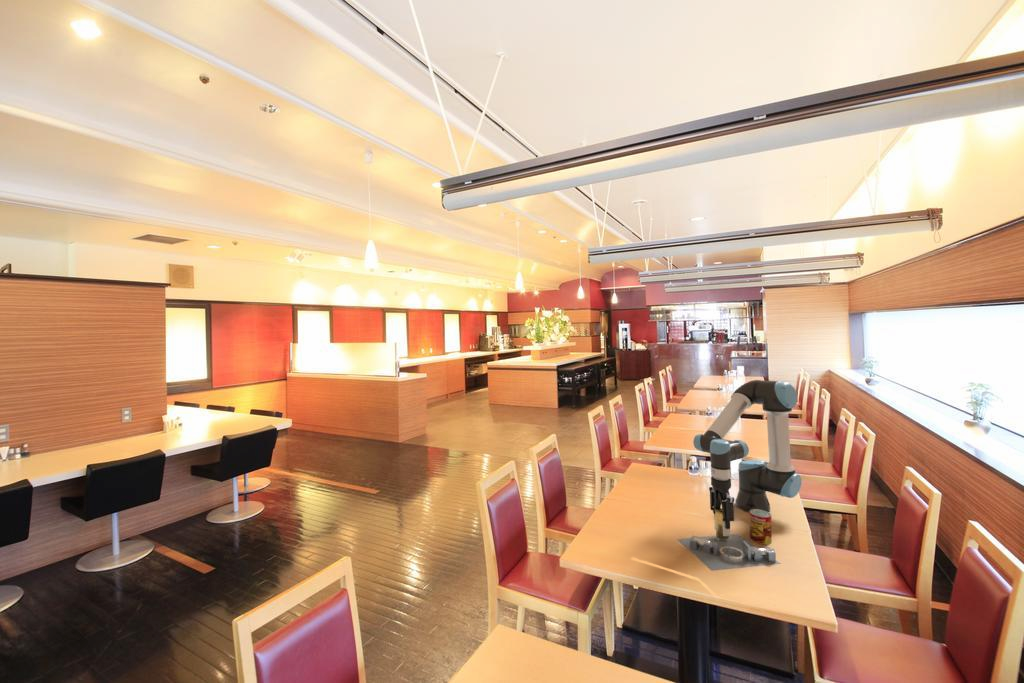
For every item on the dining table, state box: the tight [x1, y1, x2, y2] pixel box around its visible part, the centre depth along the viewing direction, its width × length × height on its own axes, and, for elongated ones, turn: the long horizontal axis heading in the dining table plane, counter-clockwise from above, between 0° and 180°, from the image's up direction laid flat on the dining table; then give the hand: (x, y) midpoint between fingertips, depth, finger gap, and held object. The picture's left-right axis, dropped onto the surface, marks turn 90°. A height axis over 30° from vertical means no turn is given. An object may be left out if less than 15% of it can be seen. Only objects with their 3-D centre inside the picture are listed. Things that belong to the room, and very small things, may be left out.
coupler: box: [715, 507, 729, 539], centre depth 174 cm, size 5×5×11 cm
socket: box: [720, 547, 745, 563], centre depth 160 cm, size 8×8×2 cm
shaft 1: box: [689, 535, 719, 556], centre depth 166 cm, size 10×5×5 cm, turn 53°
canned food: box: [749, 509, 773, 545], centre depth 174 cm, size 8×8×12 cm
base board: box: [677, 533, 782, 572], centre depth 165 cm, size 28×24×1 cm
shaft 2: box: [743, 541, 777, 562], centre depth 159 cm, size 10×5×5 cm, turn 83°
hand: (722, 532), depth 174 cm, fingers closed on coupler, 5 cm apart
